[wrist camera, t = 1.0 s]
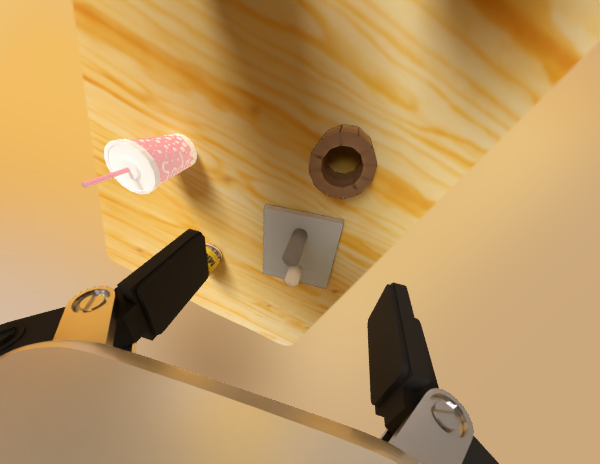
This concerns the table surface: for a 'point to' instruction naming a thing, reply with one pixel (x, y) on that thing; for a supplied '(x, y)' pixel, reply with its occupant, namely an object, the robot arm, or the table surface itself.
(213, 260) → the supplement bottle
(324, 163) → the ring
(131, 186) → the beverage cup
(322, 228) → the post board
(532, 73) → the table surface
